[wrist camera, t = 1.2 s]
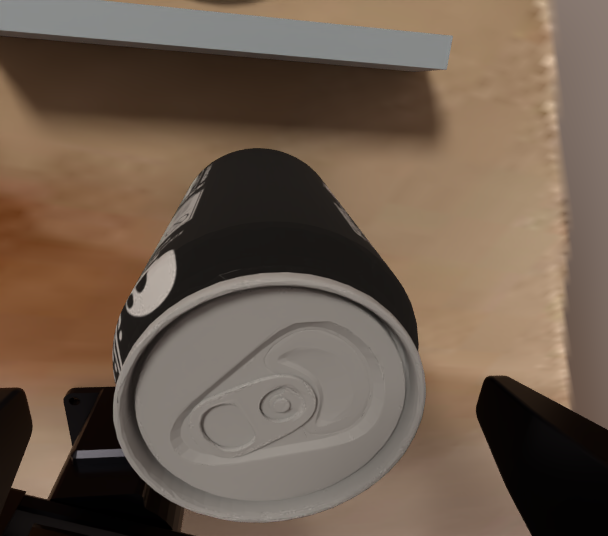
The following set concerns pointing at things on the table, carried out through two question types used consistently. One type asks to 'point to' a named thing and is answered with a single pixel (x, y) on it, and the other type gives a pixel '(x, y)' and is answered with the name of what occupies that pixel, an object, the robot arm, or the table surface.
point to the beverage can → (265, 350)
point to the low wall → (222, 34)
